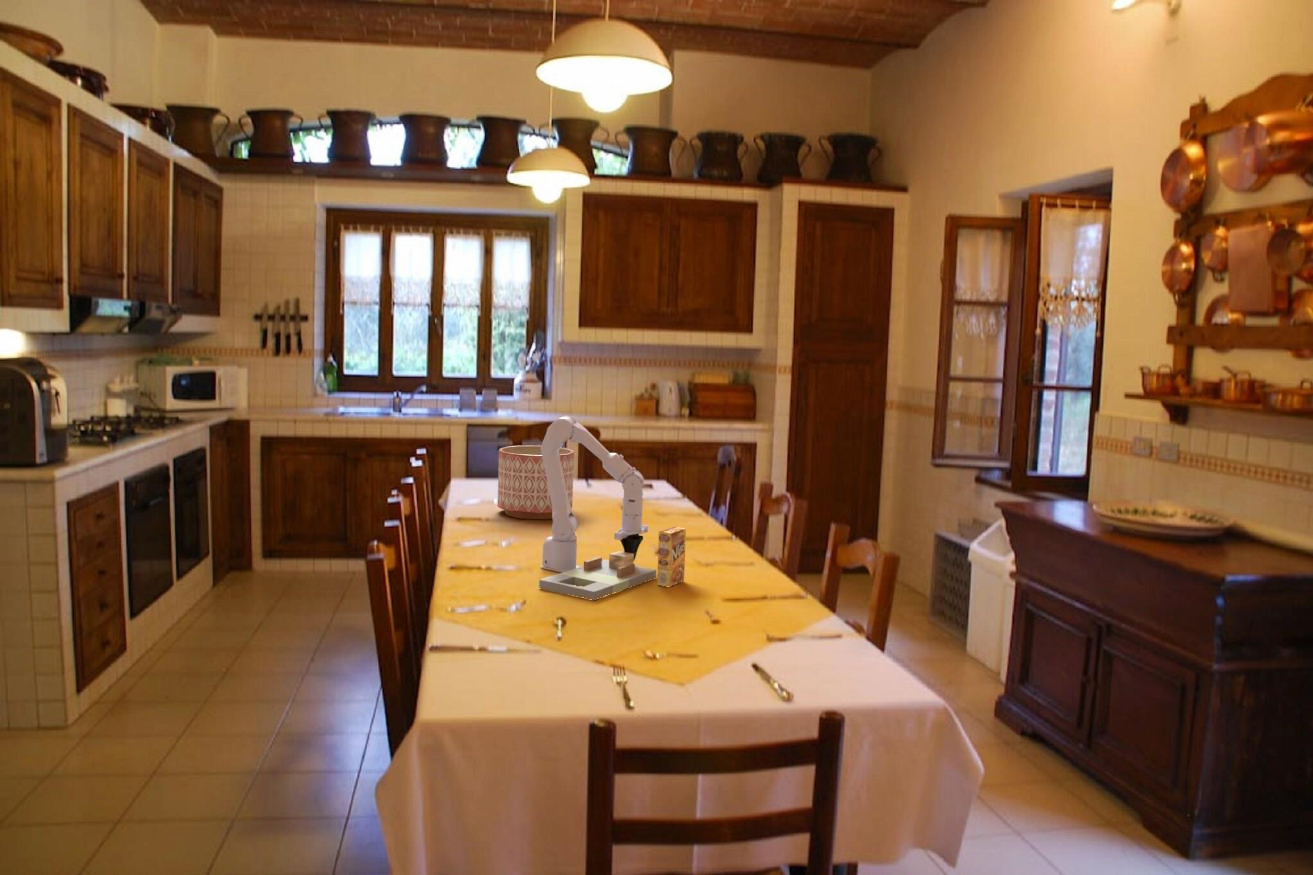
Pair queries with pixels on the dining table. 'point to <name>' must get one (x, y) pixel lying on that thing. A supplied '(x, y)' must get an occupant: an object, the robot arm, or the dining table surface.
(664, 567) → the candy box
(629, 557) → the maple block
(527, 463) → the planter
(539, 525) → the dining table surface
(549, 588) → the tunnel deck
